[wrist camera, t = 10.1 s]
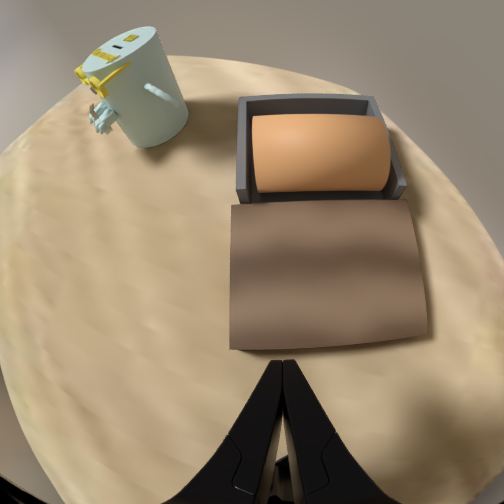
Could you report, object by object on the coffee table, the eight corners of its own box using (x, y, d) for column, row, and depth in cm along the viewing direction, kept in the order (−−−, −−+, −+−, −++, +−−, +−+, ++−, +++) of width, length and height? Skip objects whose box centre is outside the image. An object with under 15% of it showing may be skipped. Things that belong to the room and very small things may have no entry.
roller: (397, 169, 18) (372, 202, 25) (377, 101, 20) (361, 142, 26) (252, 170, 19) (260, 204, 26) (251, 100, 21) (259, 143, 28)
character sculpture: (92, 131, 34) (48, 72, 22) (149, 85, 36) (118, 22, 23) (154, 198, 28) (87, 114, 15) (231, 132, 30) (205, 34, 17)
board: (415, 335, 21) (428, 333, 18) (235, 348, 22) (229, 349, 20) (397, 211, 24) (406, 199, 22) (236, 217, 26) (231, 205, 24)
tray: (391, 209, 25) (407, 185, 20) (243, 214, 26) (235, 189, 22) (366, 123, 28) (373, 96, 24) (244, 125, 30) (238, 97, 26)
